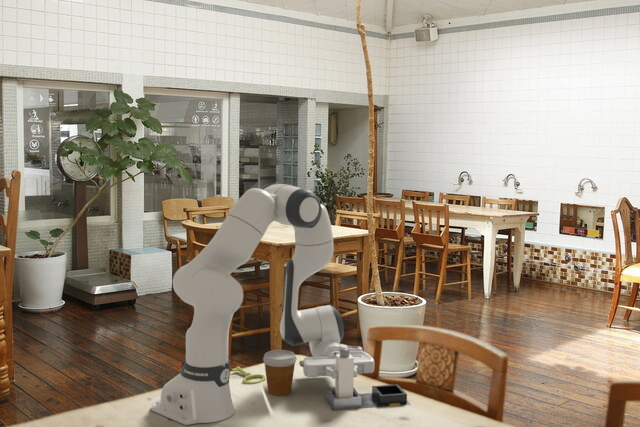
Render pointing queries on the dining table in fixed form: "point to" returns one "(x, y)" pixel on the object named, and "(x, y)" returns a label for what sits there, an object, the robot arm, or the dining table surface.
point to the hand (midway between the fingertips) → (345, 375)
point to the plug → (344, 374)
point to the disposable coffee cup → (279, 371)
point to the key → (249, 376)
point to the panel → (369, 398)
